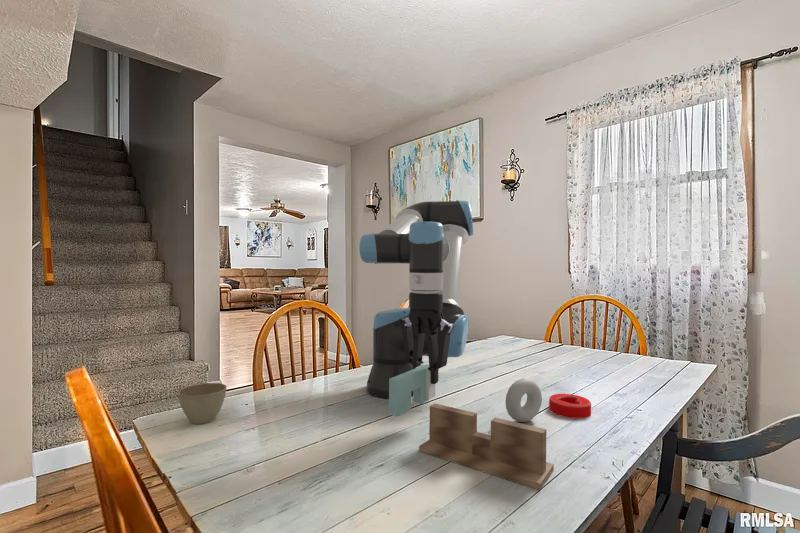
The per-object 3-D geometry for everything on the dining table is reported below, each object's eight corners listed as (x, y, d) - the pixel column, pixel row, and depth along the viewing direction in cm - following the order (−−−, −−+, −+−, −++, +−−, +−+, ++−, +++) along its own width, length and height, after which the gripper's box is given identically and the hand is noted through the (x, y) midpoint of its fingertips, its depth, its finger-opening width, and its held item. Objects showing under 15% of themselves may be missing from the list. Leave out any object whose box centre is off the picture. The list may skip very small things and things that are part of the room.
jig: (419, 451, 78) (419, 409, 78) (439, 437, 85) (439, 398, 85) (540, 490, 65) (540, 440, 65) (553, 469, 72) (554, 424, 72)
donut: (512, 428, 90) (512, 383, 90) (501, 422, 93) (502, 379, 93) (545, 420, 95) (545, 377, 94) (533, 415, 98) (534, 374, 98)
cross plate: (396, 416, 80) (397, 380, 80) (388, 414, 81) (389, 378, 81) (432, 397, 92) (433, 365, 92) (425, 395, 93) (425, 364, 93)
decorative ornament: (541, 406, 105) (542, 394, 105) (575, 404, 107) (575, 392, 107) (563, 420, 96) (563, 406, 96) (599, 417, 97) (600, 404, 97)
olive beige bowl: (216, 409, 100) (217, 380, 100) (233, 420, 93) (233, 389, 93) (171, 419, 93) (172, 388, 93) (186, 432, 86) (186, 398, 86)
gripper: (388, 290, 92) (388, 394, 92) (447, 294, 83) (447, 408, 84) (407, 288, 98) (406, 385, 98) (464, 292, 89) (463, 398, 90)
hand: (425, 395), depth 91 cm, fingers closed on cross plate, 2 cm apart
